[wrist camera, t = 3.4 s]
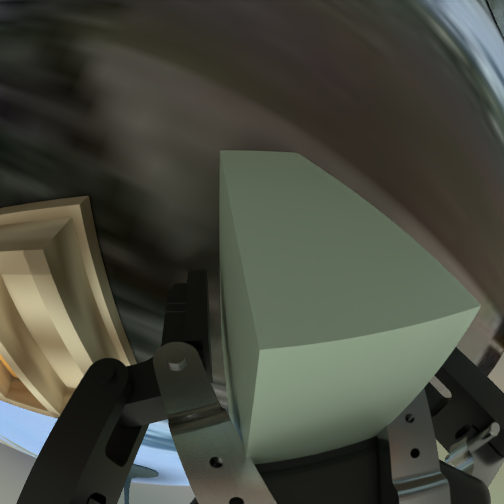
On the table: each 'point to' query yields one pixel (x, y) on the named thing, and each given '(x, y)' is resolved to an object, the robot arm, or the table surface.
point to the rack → (53, 304)
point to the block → (323, 308)
